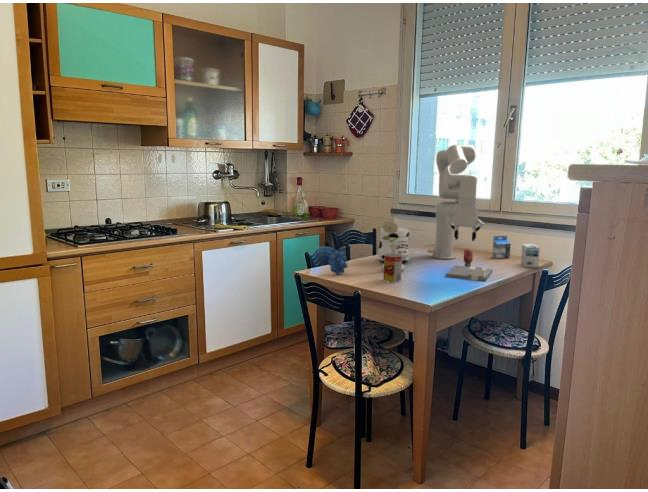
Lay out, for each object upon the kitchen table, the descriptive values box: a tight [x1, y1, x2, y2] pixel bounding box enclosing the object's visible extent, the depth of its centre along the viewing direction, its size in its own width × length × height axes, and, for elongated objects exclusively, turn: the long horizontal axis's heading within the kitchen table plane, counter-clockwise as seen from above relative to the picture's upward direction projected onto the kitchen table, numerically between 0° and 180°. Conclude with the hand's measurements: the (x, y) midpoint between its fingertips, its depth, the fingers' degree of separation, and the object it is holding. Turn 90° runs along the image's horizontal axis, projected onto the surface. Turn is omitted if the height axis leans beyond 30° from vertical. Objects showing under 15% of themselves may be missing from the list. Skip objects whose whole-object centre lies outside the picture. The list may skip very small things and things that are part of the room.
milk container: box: [377, 226, 411, 264], centre depth 253 cm, size 17×17×18 cm
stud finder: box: [468, 266, 487, 277], centre depth 219 cm, size 7×5×3 cm
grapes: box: [328, 250, 348, 275], centre depth 224 cm, size 12×7×12 cm, turn 133°
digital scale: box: [445, 264, 493, 282], centre depth 227 cm, size 18×20×2 cm
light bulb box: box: [520, 243, 541, 269], centre depth 246 cm, size 11×7×11 cm, turn 168°
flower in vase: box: [381, 220, 405, 272], centre depth 233 cm, size 13×11×25 cm
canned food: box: [383, 253, 403, 283], centre depth 214 cm, size 8×8×12 cm
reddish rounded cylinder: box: [463, 248, 474, 267], centre depth 242 cm, size 4×4×9 cm
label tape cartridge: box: [491, 235, 511, 260], centre depth 265 cm, size 9×4×12 cm, turn 104°
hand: (464, 239), depth 220 cm, fingers open, 7 cm apart
